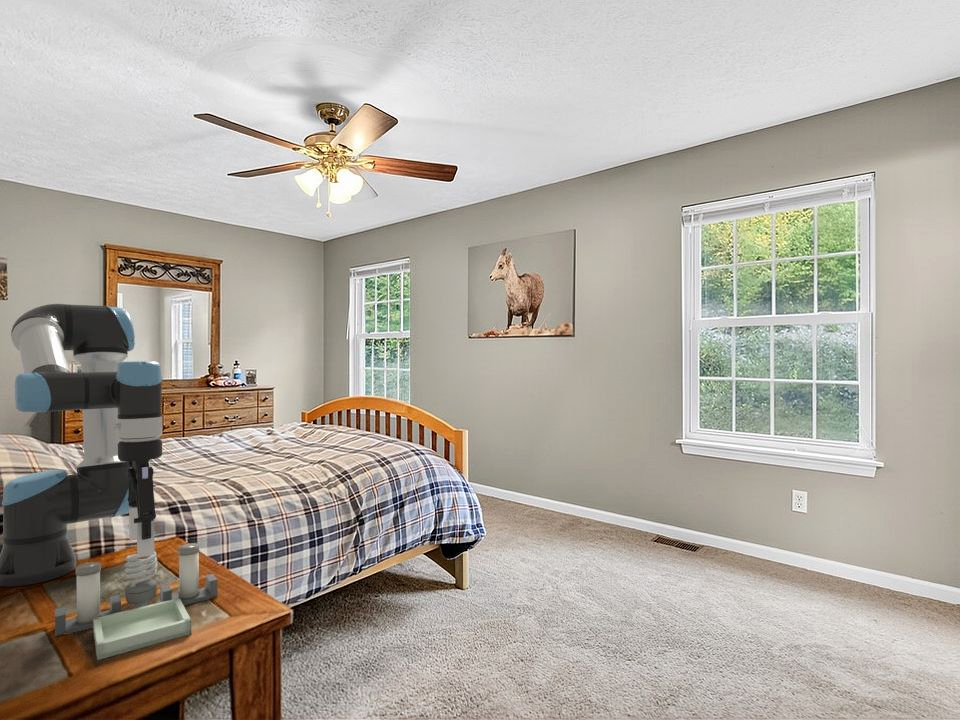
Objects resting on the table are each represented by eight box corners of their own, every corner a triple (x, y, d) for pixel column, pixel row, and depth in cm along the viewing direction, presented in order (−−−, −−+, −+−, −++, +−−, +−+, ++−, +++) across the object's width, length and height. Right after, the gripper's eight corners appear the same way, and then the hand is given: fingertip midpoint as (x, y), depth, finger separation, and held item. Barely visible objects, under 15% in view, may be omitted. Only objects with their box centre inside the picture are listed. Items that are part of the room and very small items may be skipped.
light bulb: (142, 618, 105) (141, 556, 105) (117, 616, 106) (116, 554, 106) (164, 605, 111) (164, 546, 111) (140, 603, 112) (140, 544, 112)
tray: (93, 632, 100) (93, 618, 100) (179, 610, 109) (179, 597, 109) (97, 660, 91) (97, 645, 91) (191, 633, 99) (191, 620, 99)
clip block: (55, 626, 102) (55, 608, 102) (212, 589, 119) (212, 573, 119) (55, 637, 98) (55, 617, 98) (218, 596, 115) (217, 580, 115)
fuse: (75, 618, 104) (75, 565, 104) (100, 612, 106) (100, 560, 106) (76, 626, 101) (75, 571, 101) (101, 620, 103) (101, 566, 103)
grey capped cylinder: (176, 594, 114) (176, 545, 114) (197, 589, 117) (197, 542, 117) (180, 601, 111) (179, 550, 111) (201, 596, 113) (201, 546, 114)
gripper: (112, 435, 116) (113, 535, 116) (124, 447, 97) (125, 568, 96) (153, 432, 121) (154, 528, 121) (172, 443, 101) (173, 558, 101)
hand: (141, 546), depth 108 cm, fingers open, 13 cm apart
